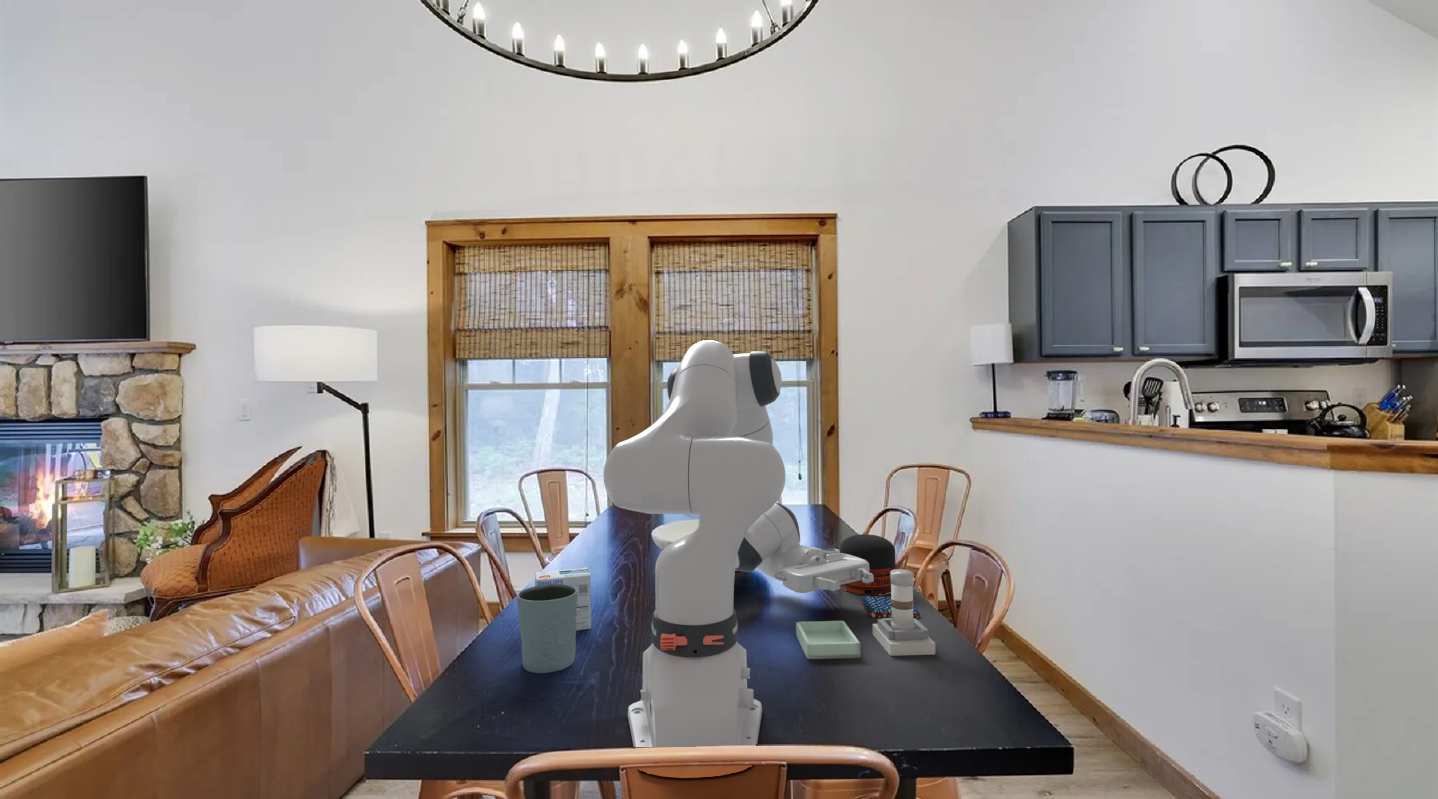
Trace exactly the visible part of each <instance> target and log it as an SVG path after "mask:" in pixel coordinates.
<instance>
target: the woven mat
mask: <svg viewBox="0 0 1438 799" xmlns="http://www.w3.org/2000/svg"><path fill="white" fill-rule="evenodd" d="M860 602H861V604H862V605H863V606H864V608H865V610H866V611H867V612H866V613H868V616H869V617H871V618H876V617H877V618H881V616H882V617H883V618H892V614H891V596H887V595H885V596H866V595H864V596H863V597H861V598H860ZM885 612H886V613H885ZM920 615H921V613H920V612H919V610H918V609H917V608H916V606H915V605H913V618H914V617H915V618H916V619H918V618H919V617H920Z"/></svg>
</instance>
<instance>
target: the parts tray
mask: <svg viewBox="0 0 1438 799" xmlns="http://www.w3.org/2000/svg"><path fill="white" fill-rule="evenodd" d="M795 636H796V638H797V640H798V642H799V644H800V647H801V649H802V651H803V653H804V655H805V656H806V659H807V660H833V659H861V642H860V641H859V640H858V638H857V637H856V635H855V634H854V633H853V631H852V630H851V629H850V627H849V626H848V625H847V623H846V622H845V621H844V620H823V621H822V620H819V621H815V620H814V621H795Z"/></svg>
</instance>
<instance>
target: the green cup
mask: <svg viewBox="0 0 1438 799" xmlns="http://www.w3.org/2000/svg"><path fill="white" fill-rule="evenodd" d="M577 598H578V589H577V588H576V587H574V586H571V585H567V584H548V585H540V586H535V585H534V586H532V587H529V588H526V589H522V590H521V591H519V592H518V593H517V594H516V605H517V613H518V624H519V629H520V630H519V631H520V632H519V633H520V640H521V649H520V650H521V657H522V658H521V660H522V666H523V668H524V670H526V671H528V672H530V673H534V674H535V673H536V674H549V673H553V672H559V671H563V670H565V669H567V668H568V667H570V666H572V665H573V664H574V662H575V658H576V646H577V642H576V641H577V640H576V637H577V636H576V635H577V630H576V616H577V612H576V609H577Z"/></svg>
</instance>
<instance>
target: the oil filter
mask: <svg viewBox="0 0 1438 799" xmlns="http://www.w3.org/2000/svg"><path fill="white" fill-rule="evenodd" d="M839 550H840V553H844V554H849V555H852V556H855V557H858V558H861V559H864V560H866V561H867V562H868V563H869V573H872V574H873V578H874V581H873V582H872V583H864V582H862V580H860V581H855V582H851V583H846V584H842V585H840V588H841V587H842V588H844V589H846V590H847V591H849V592H848V593H850V592H854V593H859V594H864V595H863V596H866V595H879V594H886V593H889V592H891V577H890V571H891V570H896V568H895V566H896V548H895V545H894V544H893V543H892V542H891V541H889V540H888V539H887V538H886V537H882V536H880V535H876V534H868V533H865V534H862V533H861V534H860V533H859V534H855V535H850V536H847V537H846V538H844V539H843V540H842V542H841V543H840V545H839ZM842 588H841V589H842ZM847 591H846V592H847Z"/></svg>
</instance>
